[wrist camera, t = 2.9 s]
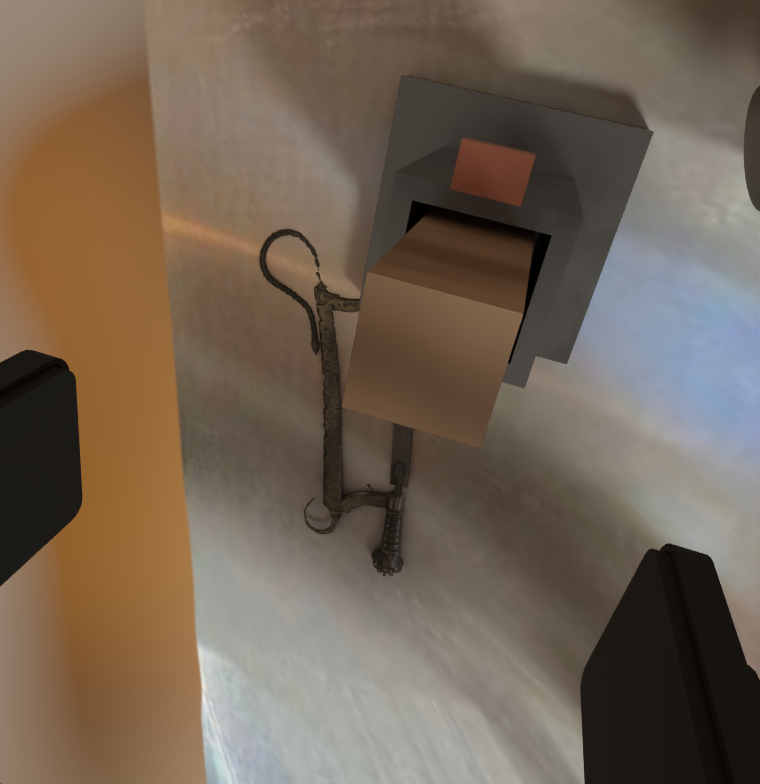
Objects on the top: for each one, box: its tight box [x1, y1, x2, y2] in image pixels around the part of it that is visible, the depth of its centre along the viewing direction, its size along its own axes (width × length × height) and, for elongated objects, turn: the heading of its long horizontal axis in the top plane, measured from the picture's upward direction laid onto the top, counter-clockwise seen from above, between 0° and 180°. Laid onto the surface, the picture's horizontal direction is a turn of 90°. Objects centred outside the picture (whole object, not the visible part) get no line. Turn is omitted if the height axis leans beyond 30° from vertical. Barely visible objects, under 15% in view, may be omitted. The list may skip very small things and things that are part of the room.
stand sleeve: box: [359, 75, 653, 388], centre depth 28 cm, size 12×12×13 cm
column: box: [342, 206, 536, 449], centre depth 24 cm, size 4×4×18 cm
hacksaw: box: [259, 229, 412, 576], centre depth 41 cm, size 24×10×2 cm, turn 177°
